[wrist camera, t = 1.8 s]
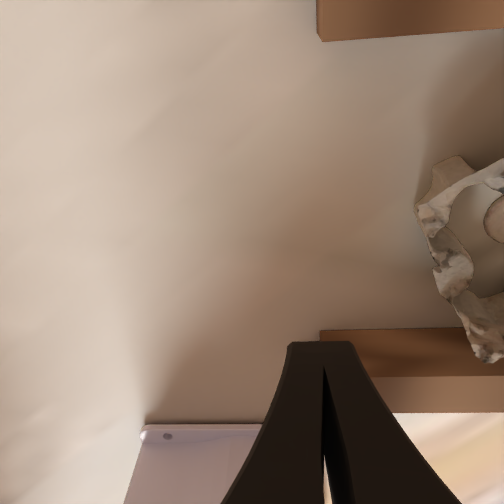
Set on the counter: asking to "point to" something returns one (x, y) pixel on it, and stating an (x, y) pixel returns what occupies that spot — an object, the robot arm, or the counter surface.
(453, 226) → the counter surface
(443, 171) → the egg carton
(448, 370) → the chute
